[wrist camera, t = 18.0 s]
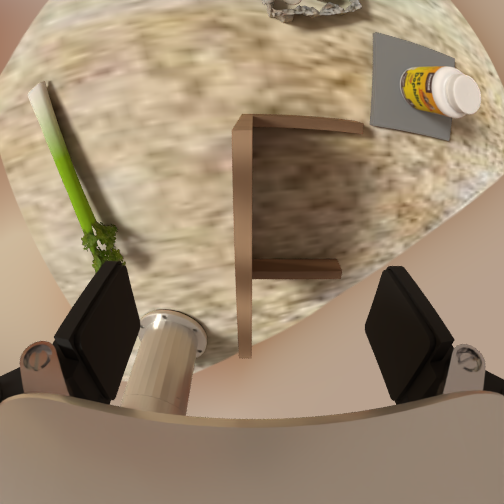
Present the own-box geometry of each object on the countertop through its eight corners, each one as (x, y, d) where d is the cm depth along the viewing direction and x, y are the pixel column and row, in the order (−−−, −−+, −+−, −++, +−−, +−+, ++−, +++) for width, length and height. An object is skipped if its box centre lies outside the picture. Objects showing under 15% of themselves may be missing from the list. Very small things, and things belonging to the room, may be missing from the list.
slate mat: (445, 139, 30) (449, 141, 29) (369, 124, 30) (372, 125, 29) (450, 58, 23) (454, 58, 23) (372, 33, 23) (376, 32, 23)
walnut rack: (335, 266, 40) (368, 352, 26) (243, 266, 40) (239, 358, 26) (354, 120, 30) (427, 147, 16) (242, 114, 30) (231, 130, 16)
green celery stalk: (64, 74, 27) (142, 257, 39) (38, 100, 29) (111, 267, 41) (33, 76, 22) (121, 281, 34) (9, 106, 24) (90, 289, 36)
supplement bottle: (394, 66, 25) (443, 63, 16) (430, 68, 24) (483, 70, 15) (400, 110, 27) (450, 122, 19) (435, 110, 27) (488, 123, 18)
